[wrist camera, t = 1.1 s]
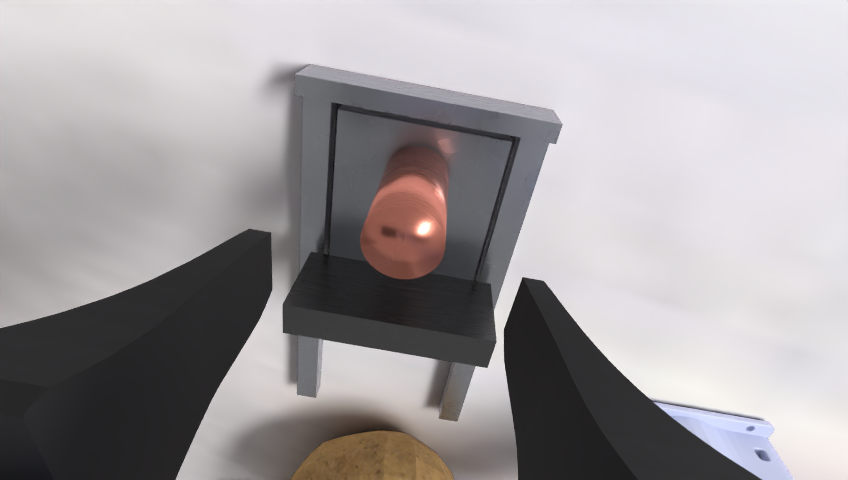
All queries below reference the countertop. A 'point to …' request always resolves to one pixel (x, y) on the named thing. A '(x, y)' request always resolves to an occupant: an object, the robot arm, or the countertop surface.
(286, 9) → the countertop surface
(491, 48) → the countertop surface
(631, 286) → the countertop surface
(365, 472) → the potato
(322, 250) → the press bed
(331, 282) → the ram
